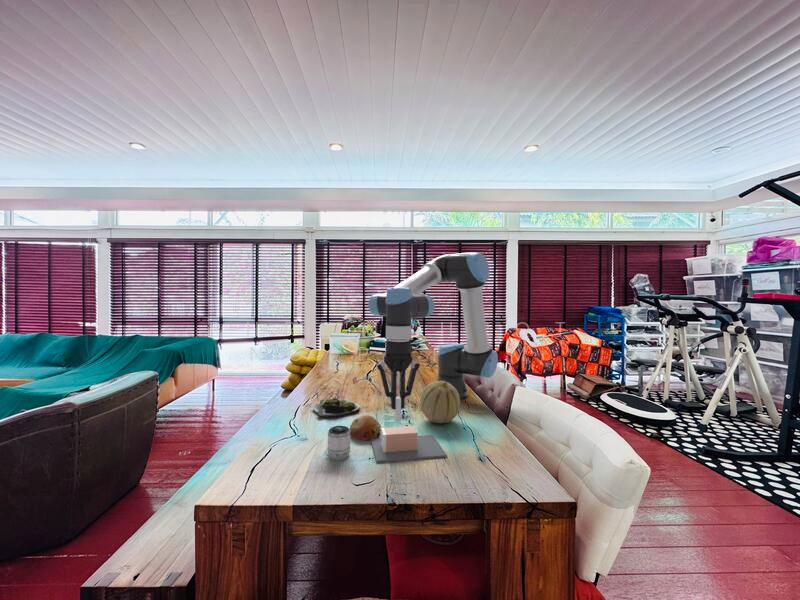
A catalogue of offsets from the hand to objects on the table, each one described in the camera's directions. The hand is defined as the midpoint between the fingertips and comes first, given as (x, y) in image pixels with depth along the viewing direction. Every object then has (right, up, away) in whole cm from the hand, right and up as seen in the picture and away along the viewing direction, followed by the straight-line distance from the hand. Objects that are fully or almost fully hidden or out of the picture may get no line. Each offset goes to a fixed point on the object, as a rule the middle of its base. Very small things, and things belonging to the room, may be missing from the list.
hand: (397, 419), depth 100 cm
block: (+5, -6, +1) cm, 8 cm away
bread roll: (-10, -9, +10) cm, 17 cm away
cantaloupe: (+15, -9, +22) cm, 28 cm away
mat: (+3, -9, +1) cm, 9 cm away
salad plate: (-24, -9, +33) cm, 42 cm away
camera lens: (-17, -9, -4) cm, 19 cm away
